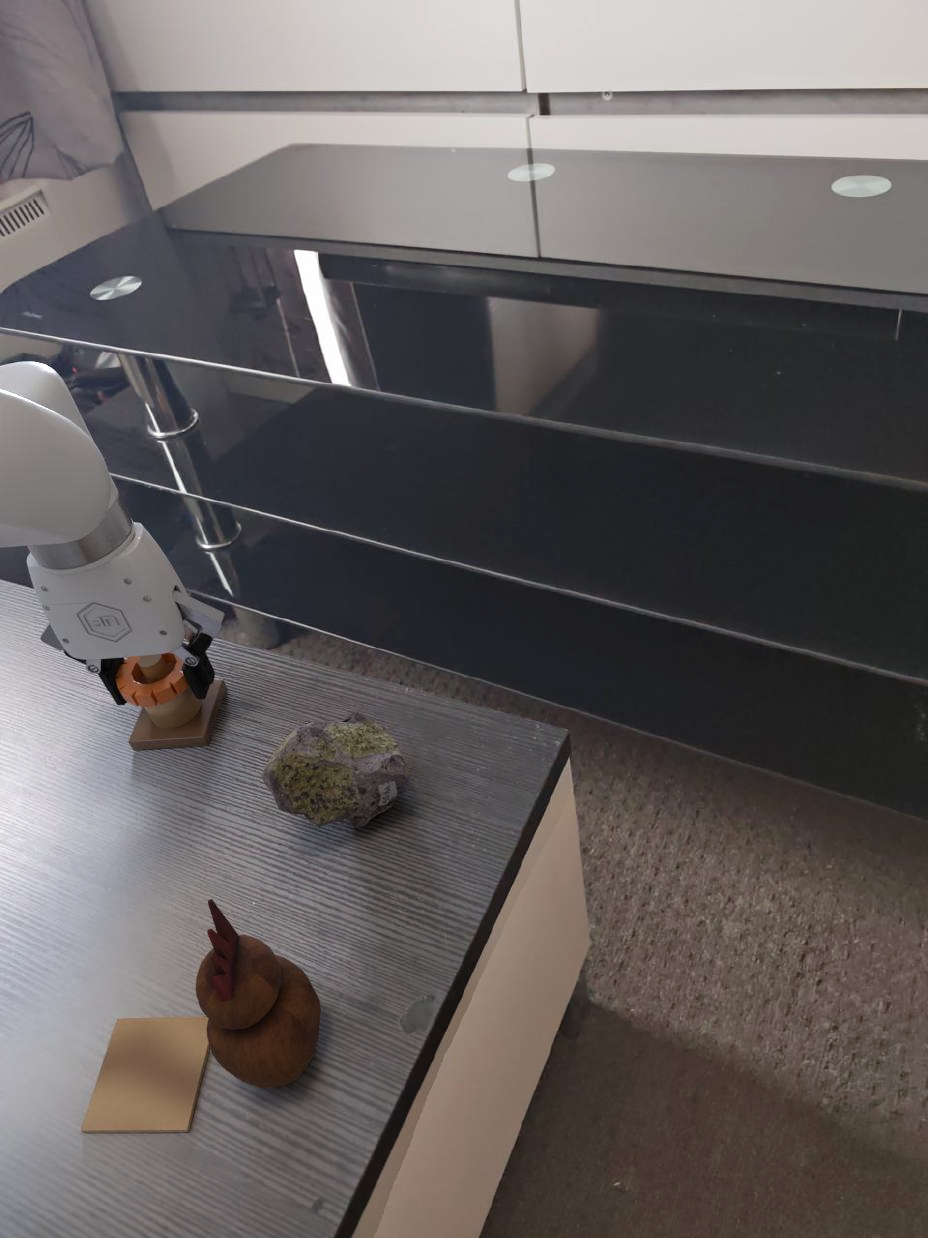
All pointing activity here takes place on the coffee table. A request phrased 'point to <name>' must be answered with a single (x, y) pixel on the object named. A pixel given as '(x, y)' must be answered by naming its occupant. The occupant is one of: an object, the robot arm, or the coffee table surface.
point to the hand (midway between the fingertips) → (165, 689)
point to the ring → (150, 692)
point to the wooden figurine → (256, 1008)
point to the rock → (337, 771)
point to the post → (175, 712)
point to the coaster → (149, 1076)
